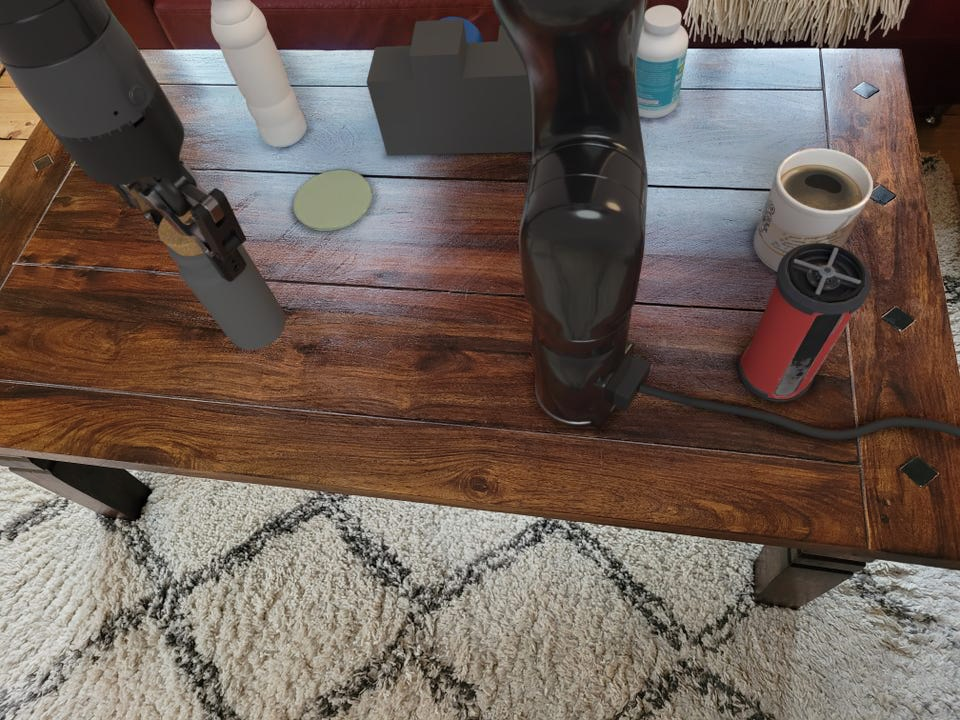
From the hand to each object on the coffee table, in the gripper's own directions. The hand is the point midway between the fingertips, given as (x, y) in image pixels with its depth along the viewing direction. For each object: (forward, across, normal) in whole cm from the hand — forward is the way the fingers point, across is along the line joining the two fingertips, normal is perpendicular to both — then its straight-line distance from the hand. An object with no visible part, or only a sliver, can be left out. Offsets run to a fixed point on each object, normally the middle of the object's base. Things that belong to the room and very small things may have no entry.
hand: (210, 258), depth 59 cm
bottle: (+11, 0, 0) cm, 11 cm away
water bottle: (+25, -33, +32) cm, 52 cm away
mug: (+25, +39, +49) cm, 67 cm away
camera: (+25, -9, +49) cm, 56 cm away
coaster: (+24, -17, +25) cm, 39 cm away
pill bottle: (+25, +12, +63) cm, 69 cm away
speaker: (+25, +44, +30) cm, 59 cm away
